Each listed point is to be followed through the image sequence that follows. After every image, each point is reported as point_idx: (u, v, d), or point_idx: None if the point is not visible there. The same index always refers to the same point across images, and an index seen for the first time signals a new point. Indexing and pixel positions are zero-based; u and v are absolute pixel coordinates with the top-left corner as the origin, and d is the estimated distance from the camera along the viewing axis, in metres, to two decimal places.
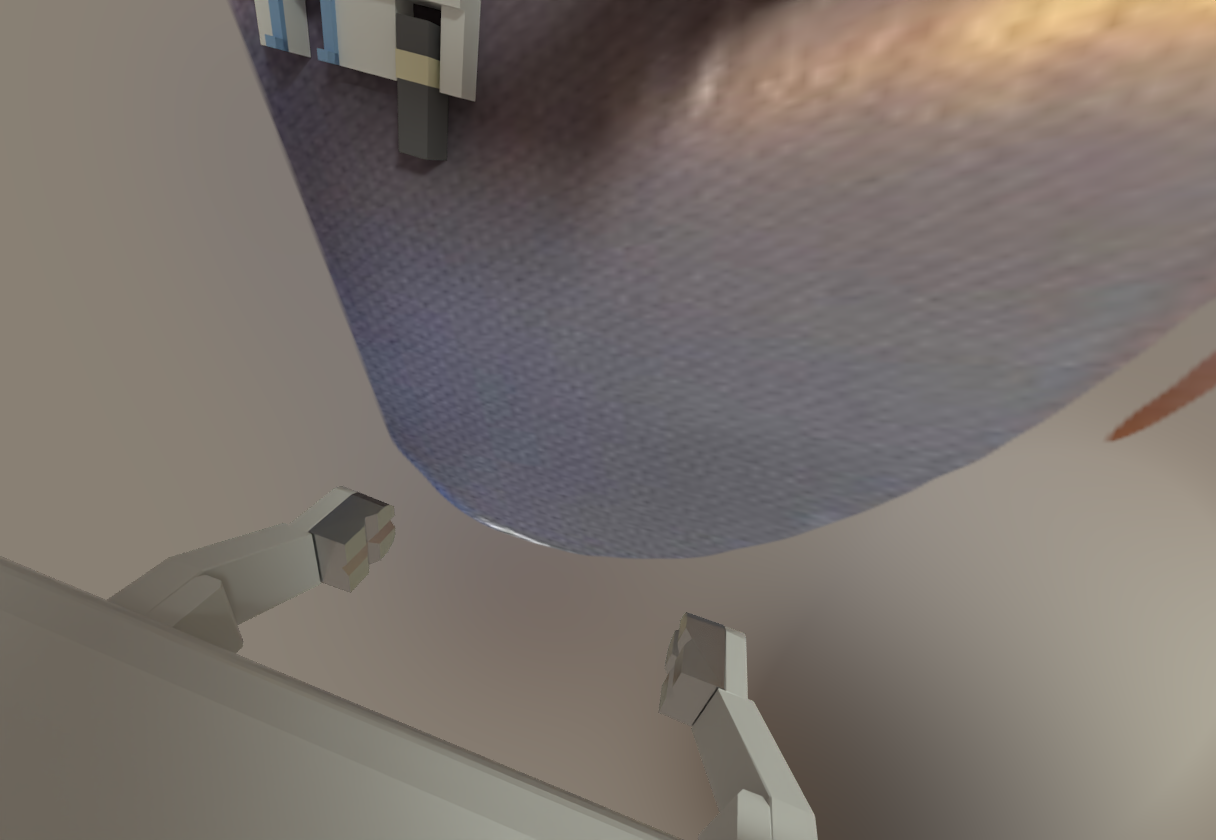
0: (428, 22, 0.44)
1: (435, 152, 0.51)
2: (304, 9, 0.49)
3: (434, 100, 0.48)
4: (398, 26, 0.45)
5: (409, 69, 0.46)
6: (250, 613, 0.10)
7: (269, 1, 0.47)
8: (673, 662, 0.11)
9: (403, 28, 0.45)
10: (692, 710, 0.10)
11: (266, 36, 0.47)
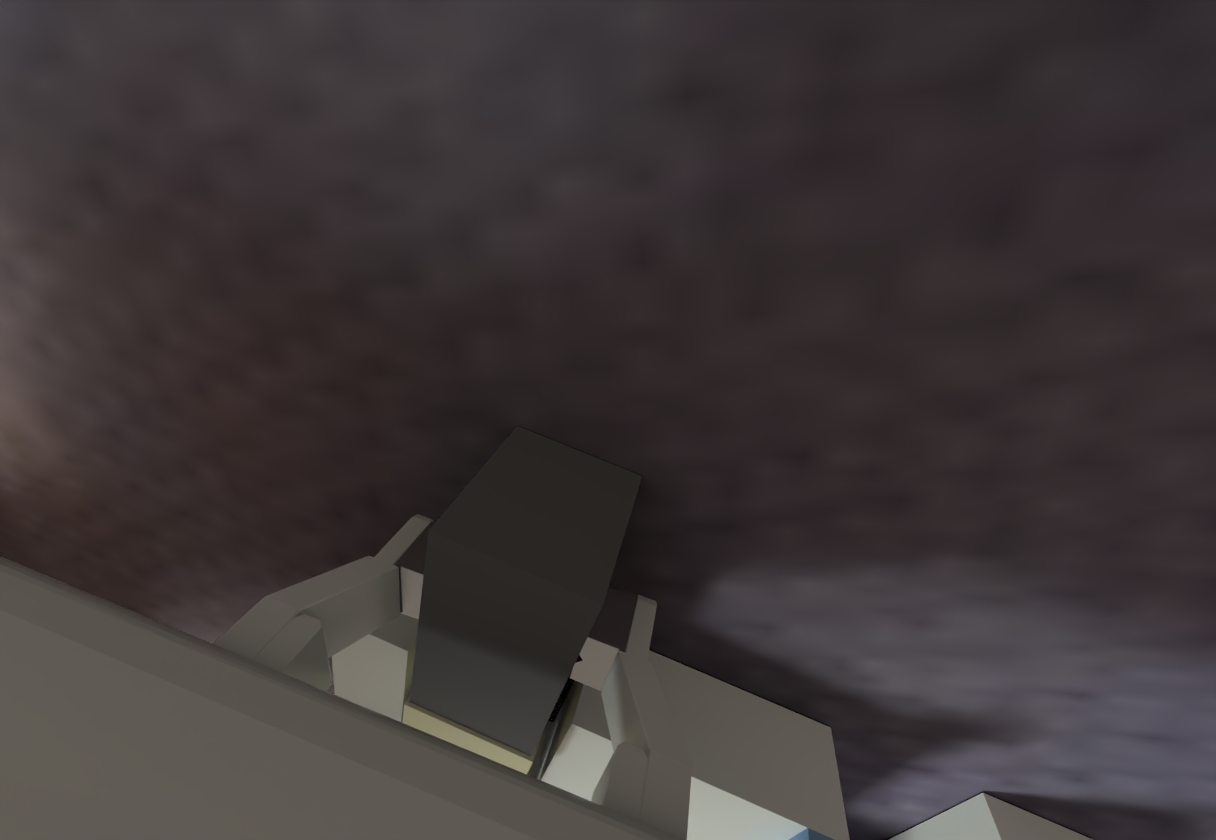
0: None
1: None
2: None
3: None
4: None
5: None
6: (337, 648, 0.10)
7: None
8: None
9: None
10: (599, 674, 0.10)
11: None
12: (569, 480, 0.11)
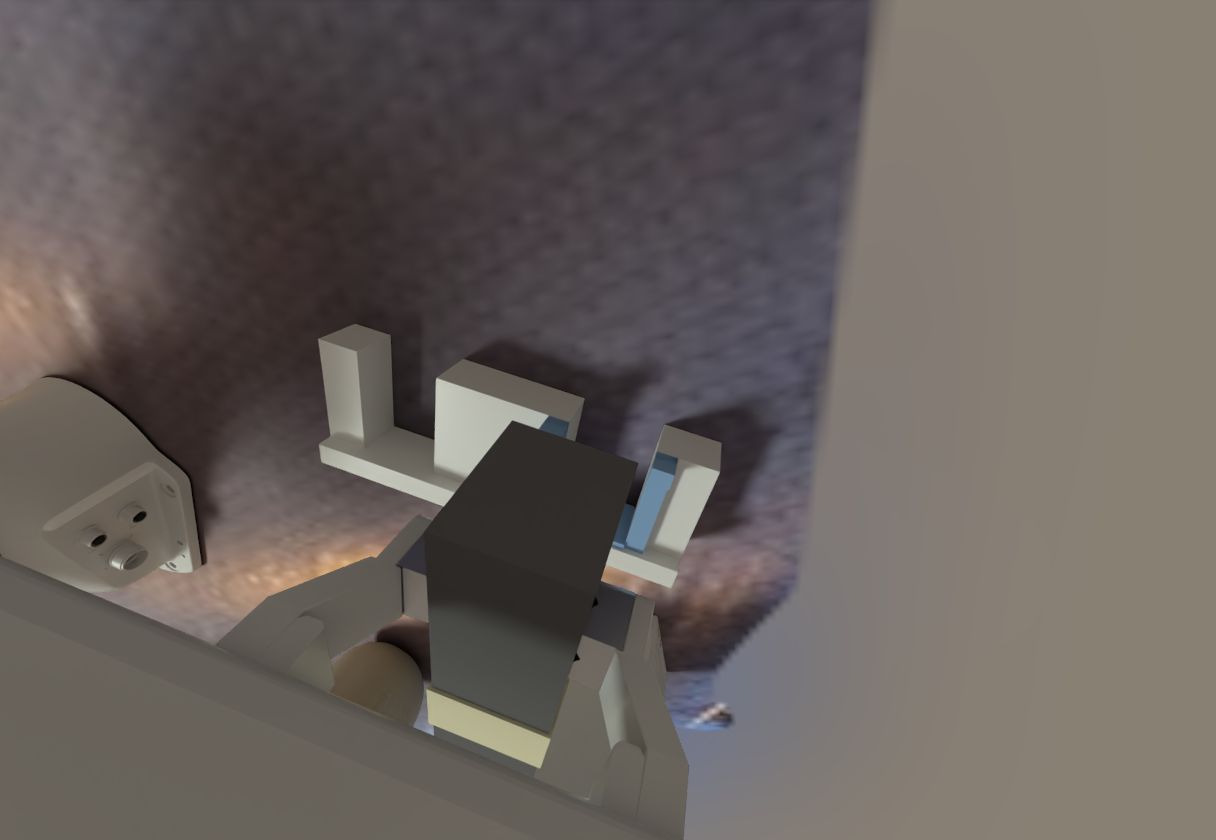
0: None
1: None
2: None
3: None
4: None
5: (494, 731, 0.13)
6: (339, 649, 0.10)
7: (654, 516, 0.26)
8: None
9: None
10: (597, 673, 0.10)
11: (666, 486, 0.23)
12: (563, 472, 0.11)
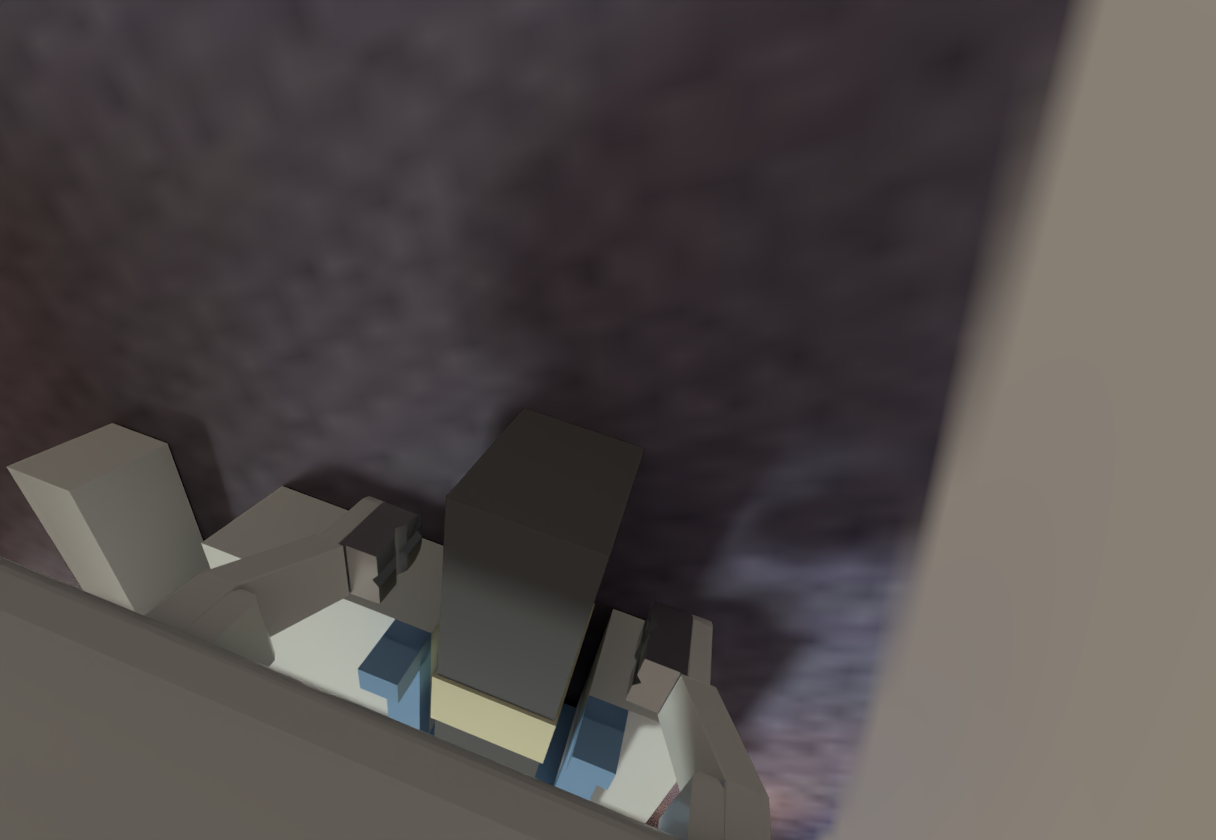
0: None
1: None
2: (587, 678, 0.18)
3: None
4: None
5: (498, 721, 0.13)
6: (281, 626, 0.10)
7: (590, 786, 0.14)
8: (641, 650, 0.11)
9: None
10: (657, 697, 0.10)
11: (602, 784, 0.12)
12: (574, 453, 0.11)
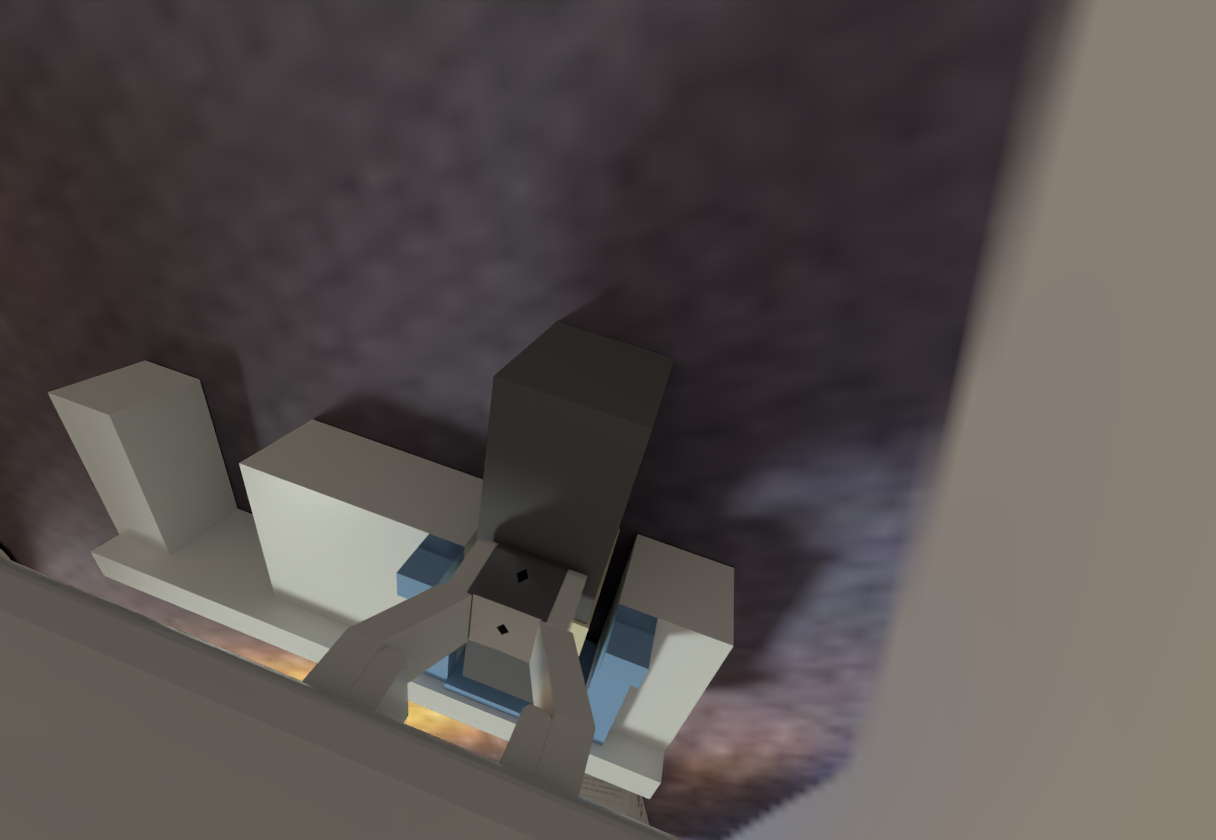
0: (464, 672, 0.16)
1: None
2: None
3: None
4: None
5: None
6: (409, 678, 0.10)
7: (617, 701, 0.15)
8: None
9: None
10: (526, 646, 0.10)
11: (634, 682, 0.12)
12: (609, 356, 0.12)
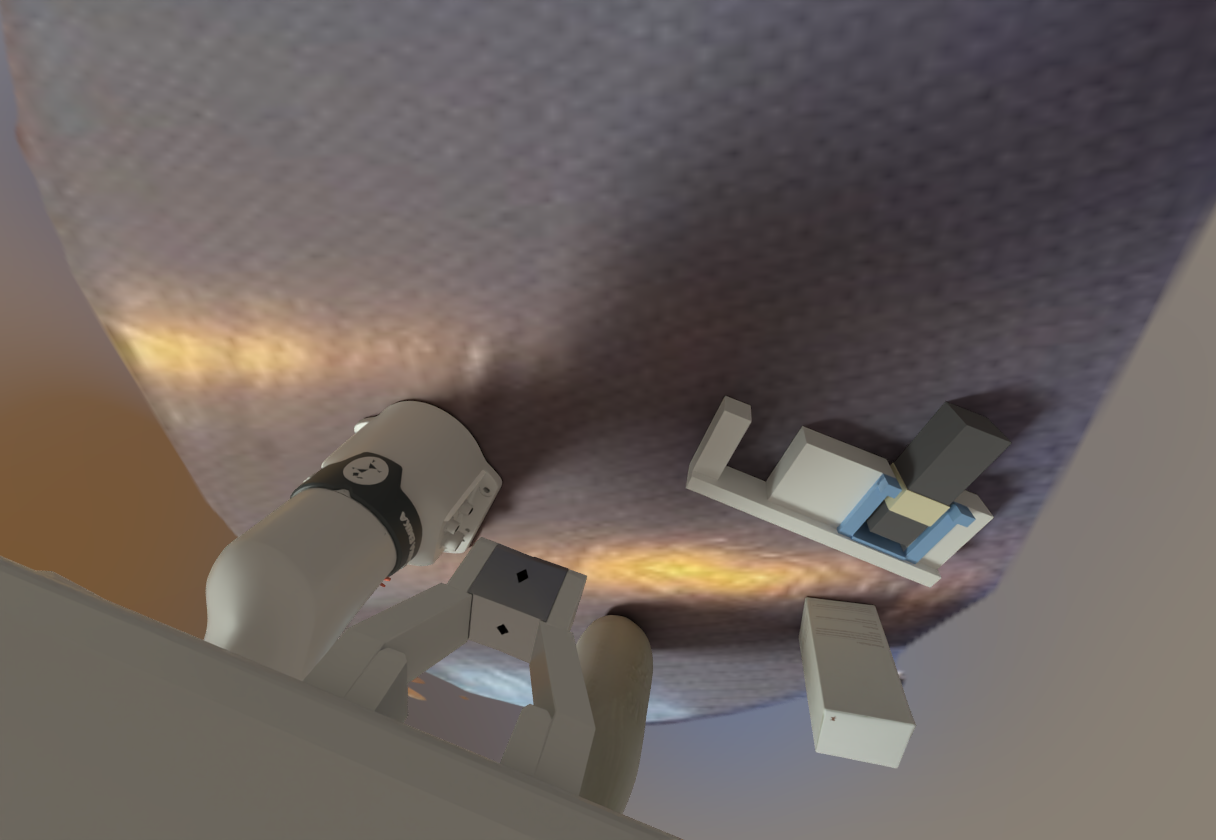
0: (870, 530, 0.40)
1: (950, 422, 0.36)
2: None
3: (911, 471, 0.38)
4: (912, 538, 0.39)
5: (923, 508, 0.38)
6: (409, 677, 0.10)
7: (937, 541, 0.39)
8: None
9: (906, 535, 0.39)
10: (526, 646, 0.10)
11: (966, 525, 0.37)
12: (974, 417, 0.36)
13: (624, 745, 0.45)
